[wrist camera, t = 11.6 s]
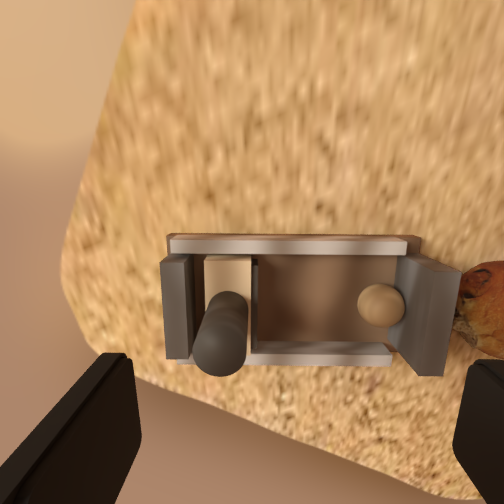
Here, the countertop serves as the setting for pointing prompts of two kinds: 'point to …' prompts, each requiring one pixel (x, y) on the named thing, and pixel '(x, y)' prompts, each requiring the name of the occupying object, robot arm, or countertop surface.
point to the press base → (321, 298)
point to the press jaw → (227, 314)
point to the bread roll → (482, 308)
